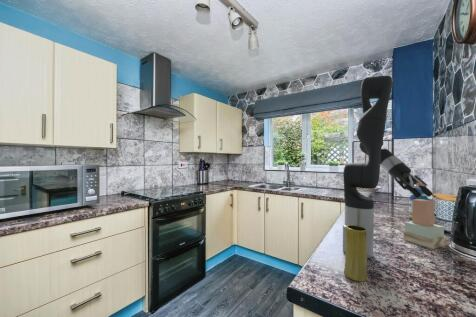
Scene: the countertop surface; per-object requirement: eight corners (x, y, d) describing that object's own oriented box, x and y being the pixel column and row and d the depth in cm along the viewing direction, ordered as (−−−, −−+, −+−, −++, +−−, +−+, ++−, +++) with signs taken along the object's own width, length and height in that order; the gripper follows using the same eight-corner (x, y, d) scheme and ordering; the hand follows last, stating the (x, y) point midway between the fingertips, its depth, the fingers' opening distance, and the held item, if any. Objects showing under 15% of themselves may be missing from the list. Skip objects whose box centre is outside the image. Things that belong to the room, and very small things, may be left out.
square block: (426, 226, 83) (426, 202, 83) (412, 222, 88) (412, 199, 87) (433, 225, 84) (434, 201, 84) (419, 221, 89) (420, 198, 89)
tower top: (430, 238, 80) (430, 228, 80) (404, 231, 89) (405, 222, 89) (443, 236, 83) (444, 226, 83) (418, 229, 92) (418, 220, 92)
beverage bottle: (425, 227, 105) (425, 188, 105) (405, 223, 112) (405, 186, 112) (432, 225, 109) (432, 187, 109) (412, 221, 116) (412, 186, 116)
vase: (346, 267, 65) (346, 223, 65) (369, 275, 61) (369, 227, 61) (341, 276, 60) (342, 228, 60) (366, 284, 56) (366, 232, 56)
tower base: (432, 250, 79) (432, 239, 79) (403, 240, 88) (403, 231, 88) (446, 246, 83) (446, 236, 83) (417, 237, 92) (417, 228, 92)
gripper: (392, 161, 91) (423, 191, 80) (410, 162, 96) (442, 189, 86) (379, 173, 95) (408, 202, 85) (398, 172, 101) (426, 200, 90)
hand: (425, 195), depth 85 cm, fingers open, 8 cm apart
